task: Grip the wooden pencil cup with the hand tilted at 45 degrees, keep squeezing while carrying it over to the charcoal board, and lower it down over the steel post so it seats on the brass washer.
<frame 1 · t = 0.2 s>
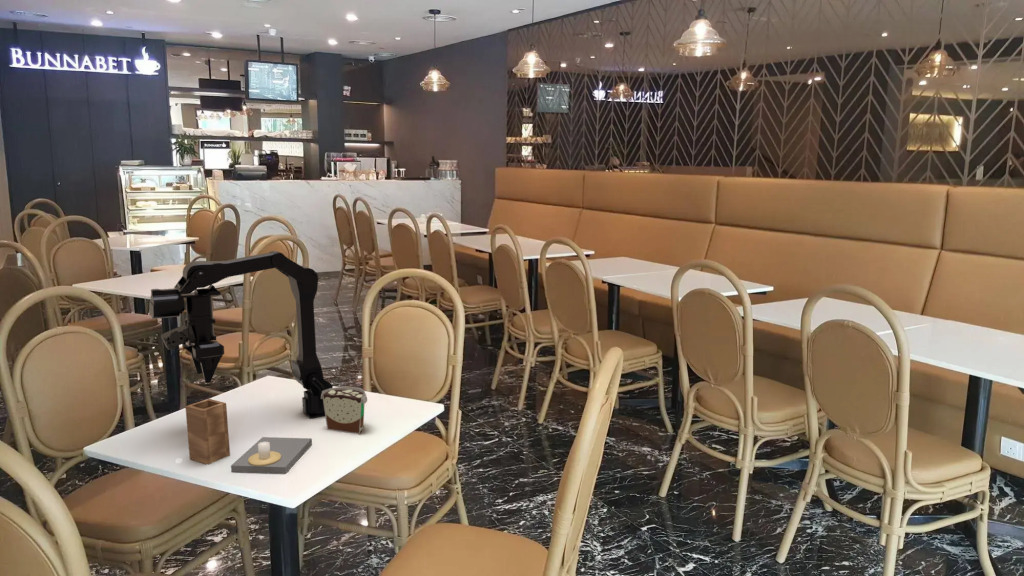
hand: (203, 378, 167), 15 cm above the table, tool pointing down, fingers open, 9 cm apart
wooden pencil cup: (210, 457, 157), on the table
food container: (350, 428, 175), on the table
post stand: (273, 457, 157), on the table
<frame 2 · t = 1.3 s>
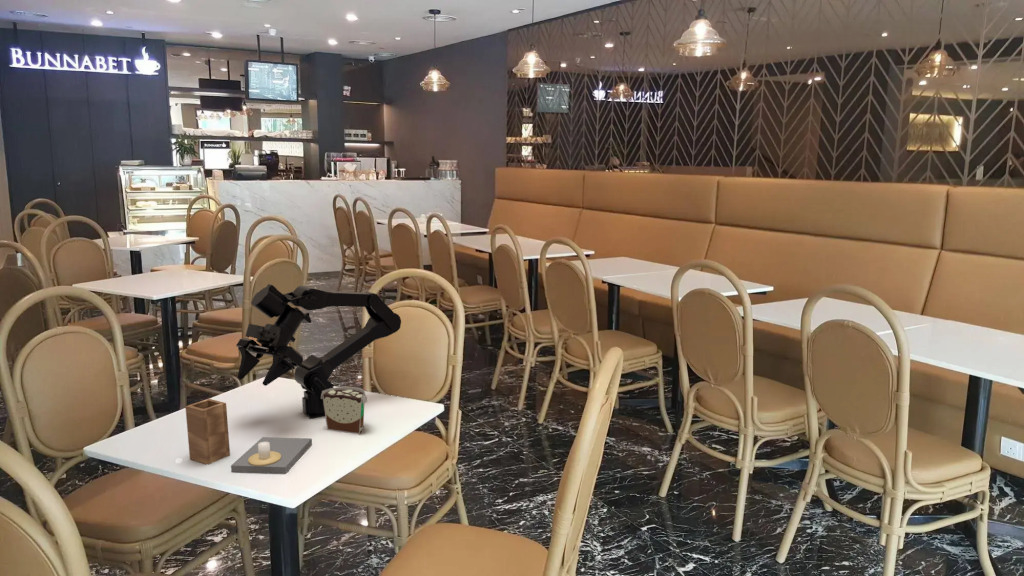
hand: (251, 381, 168), 13 cm above the table, tool tilted 45°, fingers open, 9 cm apart
nothing on the table moved.
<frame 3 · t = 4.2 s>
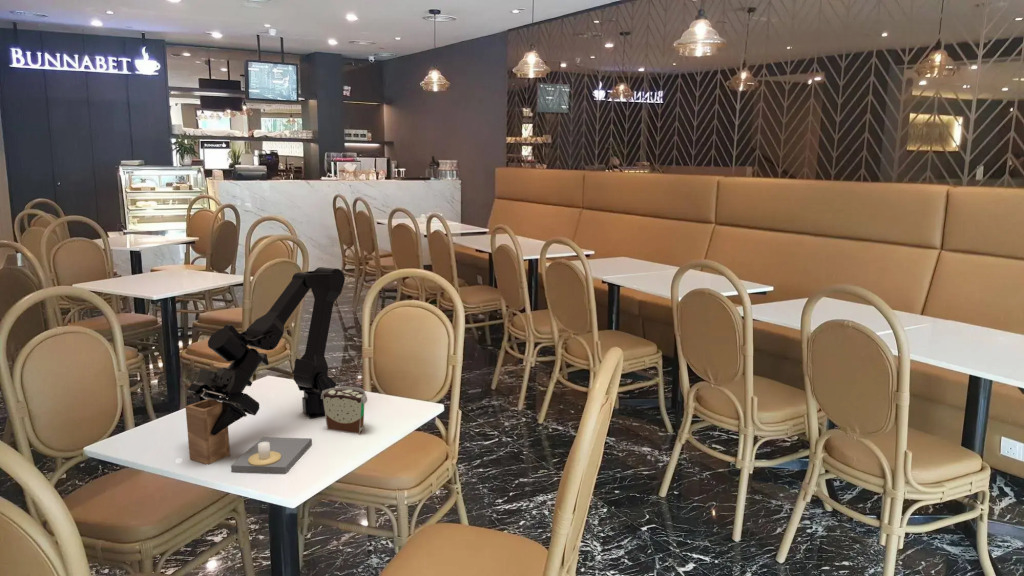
hand: (202, 431, 155), 7 cm above the table, tool tilted 45°, fingers closed on wooden pencil cup, 6 cm apart
wooden pencil cup: (210, 457, 157), on the table, touching gripper
everything else where it was.
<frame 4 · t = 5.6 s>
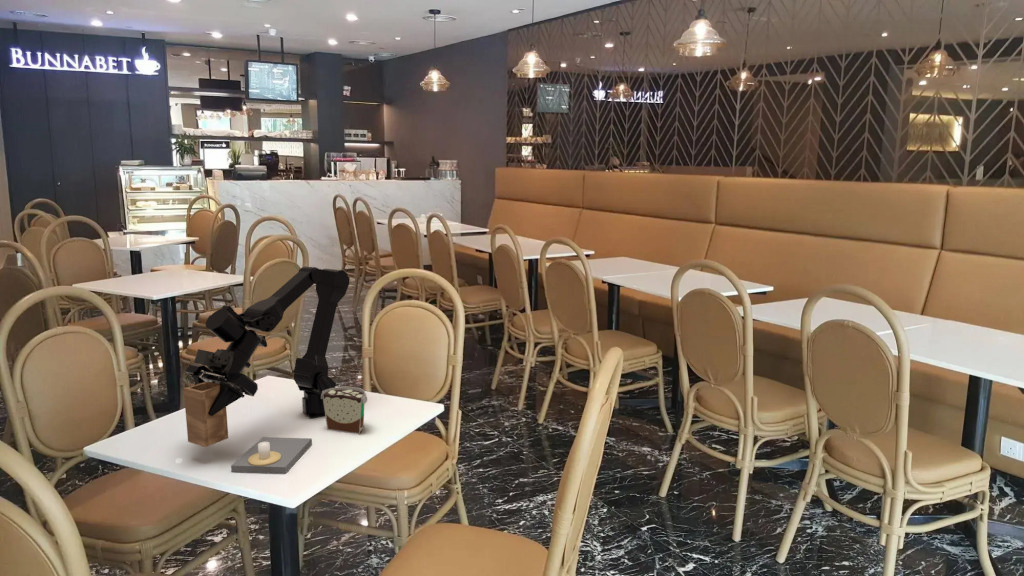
hand: (200, 412, 154), 11 cm above the table, tool tilted 45°, fingers closed on wooden pencil cup, 6 cm apart
wooden pencil cup: (208, 439, 156), point 4 cm above the table, touching gripper
everything else where it was.
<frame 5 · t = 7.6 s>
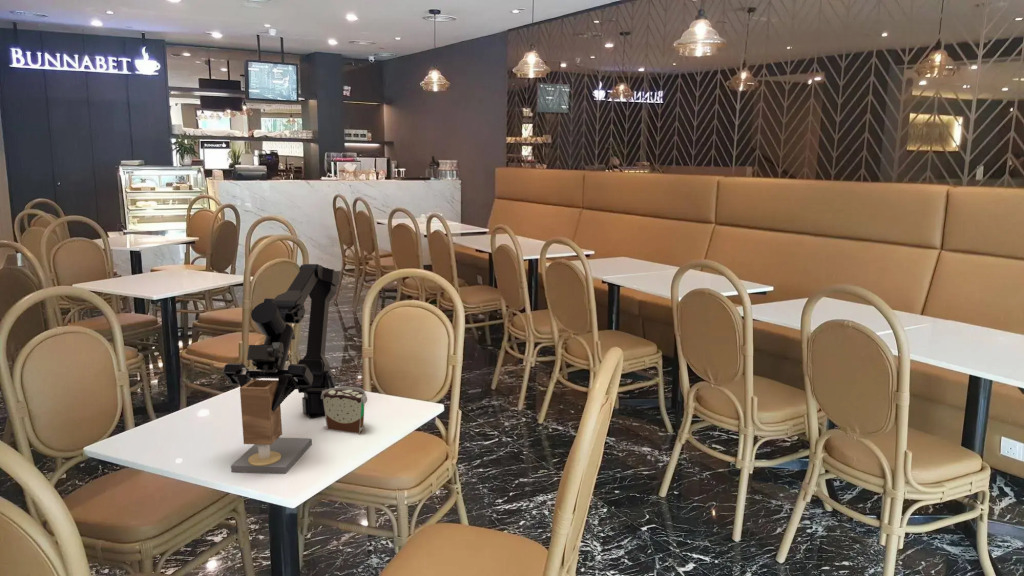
hand: (258, 409, 149), 13 cm above the table, tool tilted 45°, fingers closed on wooden pencil cup, 6 cm apart
wooden pencil cup: (263, 439, 151), point 6 cm above the table, touching gripper
everything else where it was.
when the fingers open (10 cm above the table, at t = 9.2 s): wooden pencil cup stays where it is, resting on post stand.
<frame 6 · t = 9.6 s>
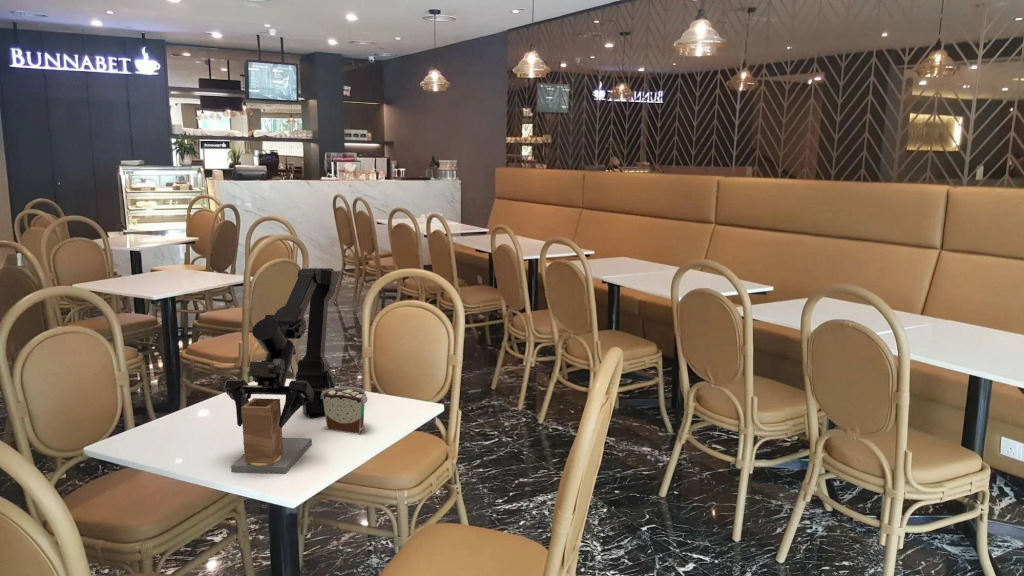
hand: (259, 426, 149), 10 cm above the table, tool tilted 45°, fingers open, 9 cm apart
wooden pencil cup: (264, 457, 152), point 2 cm above the table, touching post stand
everything else where it was.
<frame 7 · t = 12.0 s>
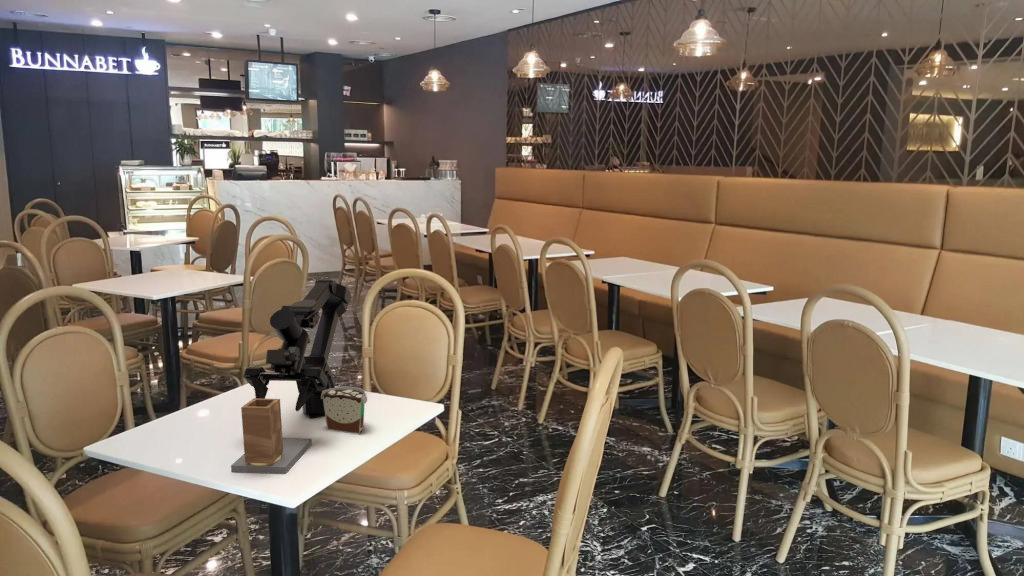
hand: (277, 410, 159), 10 cm above the table, tool tilted 45°, fingers open, 9 cm apart
nothing on the table moved.
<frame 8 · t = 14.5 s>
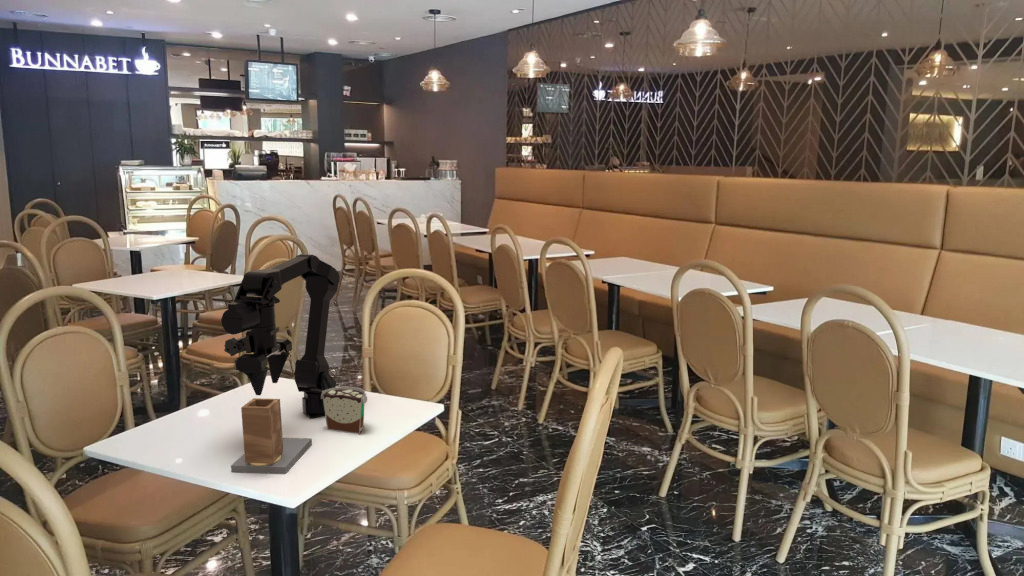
hand: (266, 388, 164), 13 cm above the table, tool pointing down, fingers open, 9 cm apart
nothing on the table moved.
at the end: wooden pencil cup 0.1 cm from the target spot on the post stand, point 2.0 cm above the post stand's base; wooden pencil cup tilted 0°; the gripper is holding nothing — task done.
